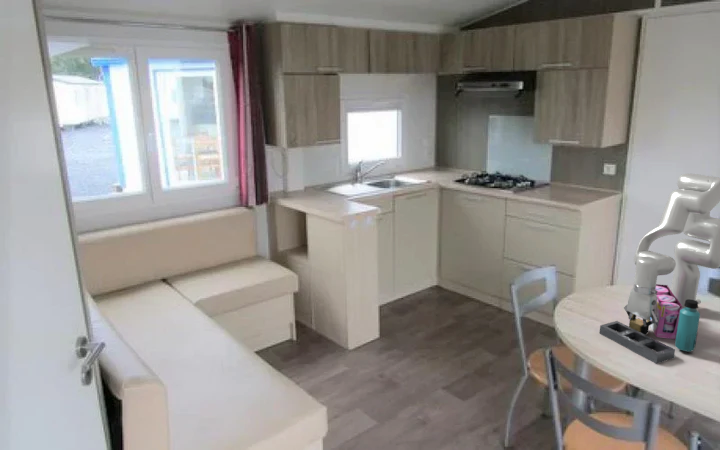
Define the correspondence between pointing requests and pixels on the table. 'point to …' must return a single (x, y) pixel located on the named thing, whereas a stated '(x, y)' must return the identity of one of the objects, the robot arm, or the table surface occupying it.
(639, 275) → the robot arm
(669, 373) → the table surface
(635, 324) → the tan wooden cube
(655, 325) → the gum box
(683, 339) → the beverage bottle
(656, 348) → the frame with square openings
